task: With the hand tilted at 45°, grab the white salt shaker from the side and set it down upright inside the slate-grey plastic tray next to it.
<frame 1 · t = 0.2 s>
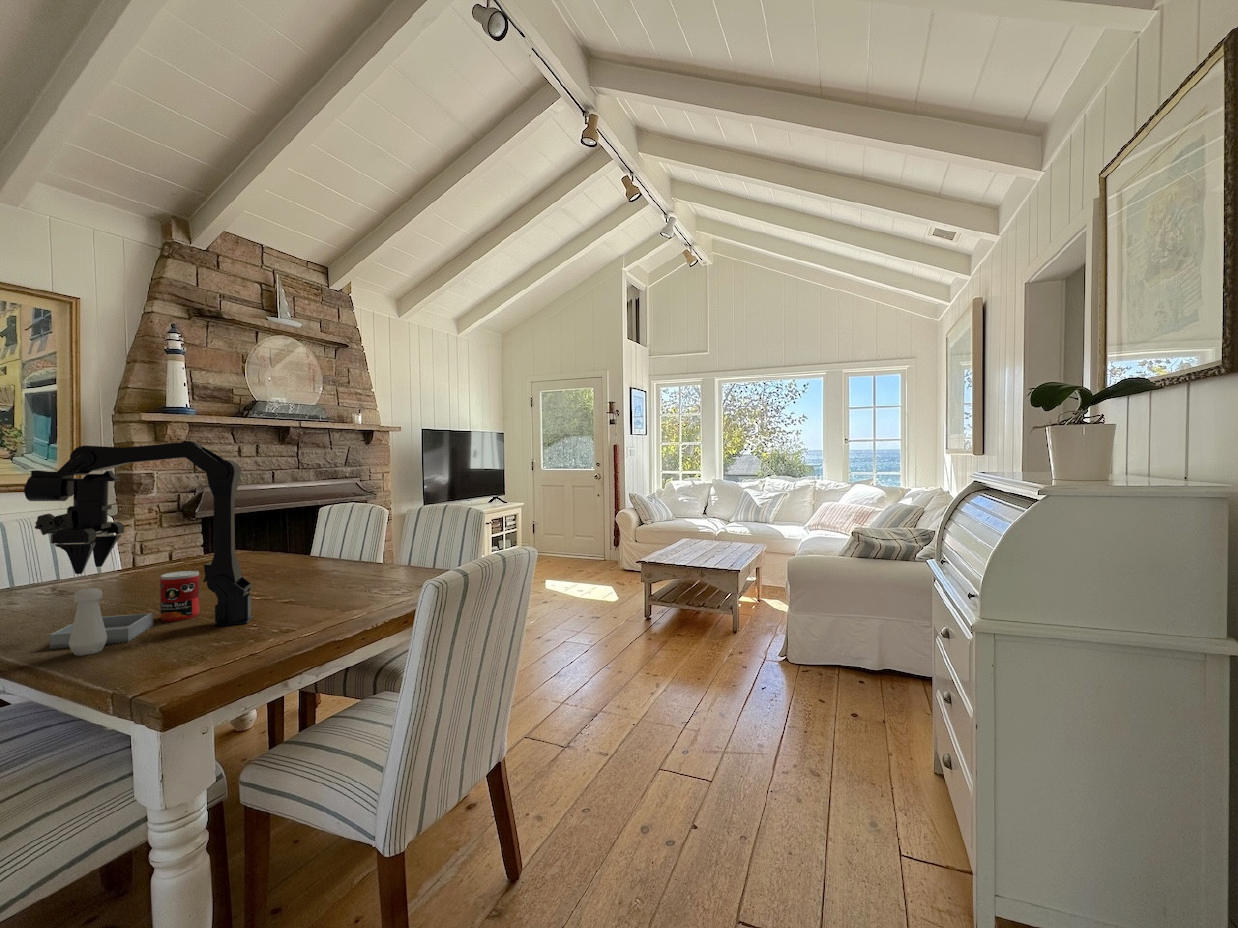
hand: (89, 570, 127), 15 cm above the table, tool pointing down, fingers open, 9 cm apart
tray: (104, 636, 126), on the table
salt shaker: (88, 653, 116), on the table
canned food: (180, 617, 142), on the table
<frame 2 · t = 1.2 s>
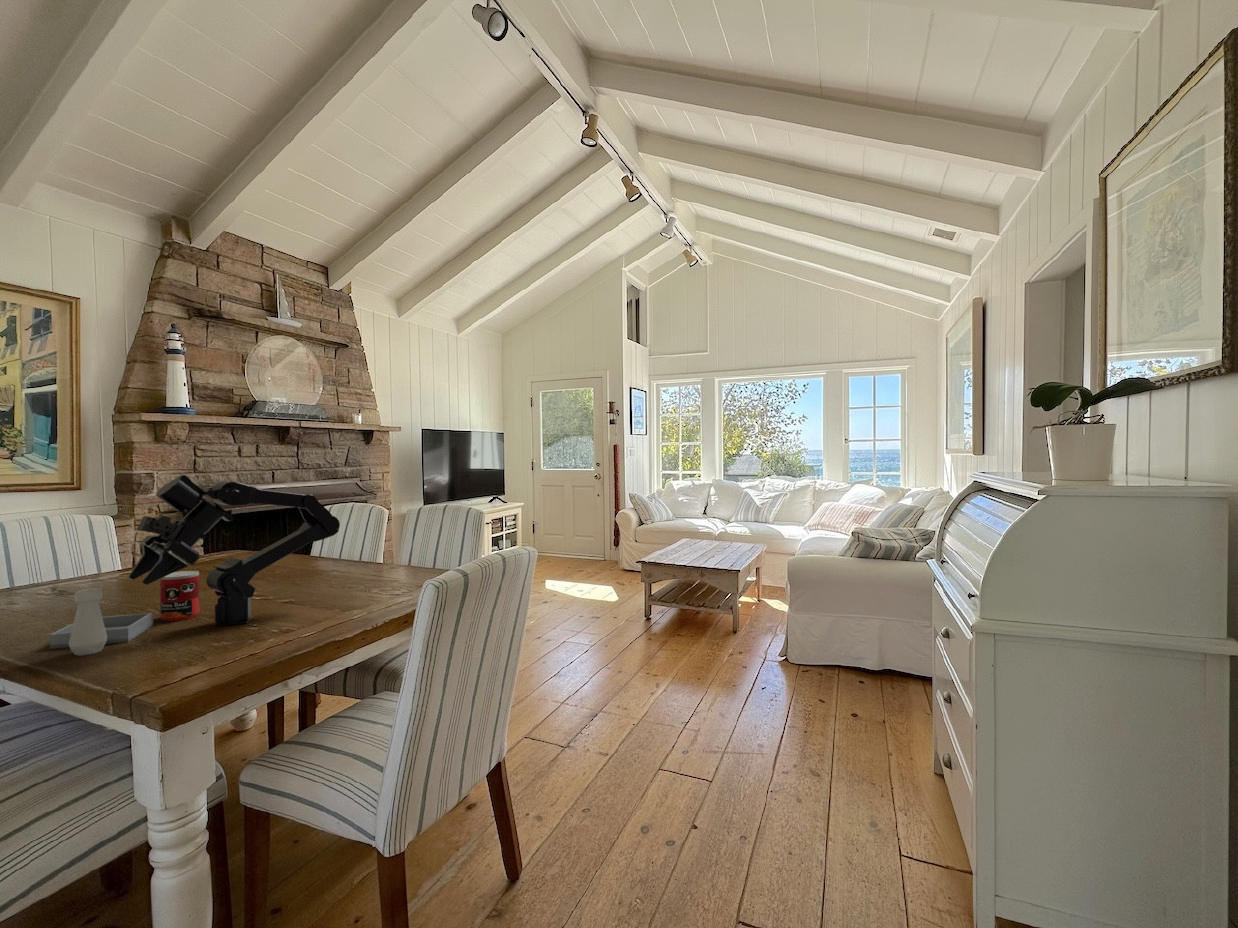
hand: (137, 580, 122), 13 cm above the table, tool tilted 45°, fingers open, 9 cm apart
nothing on the table moved.
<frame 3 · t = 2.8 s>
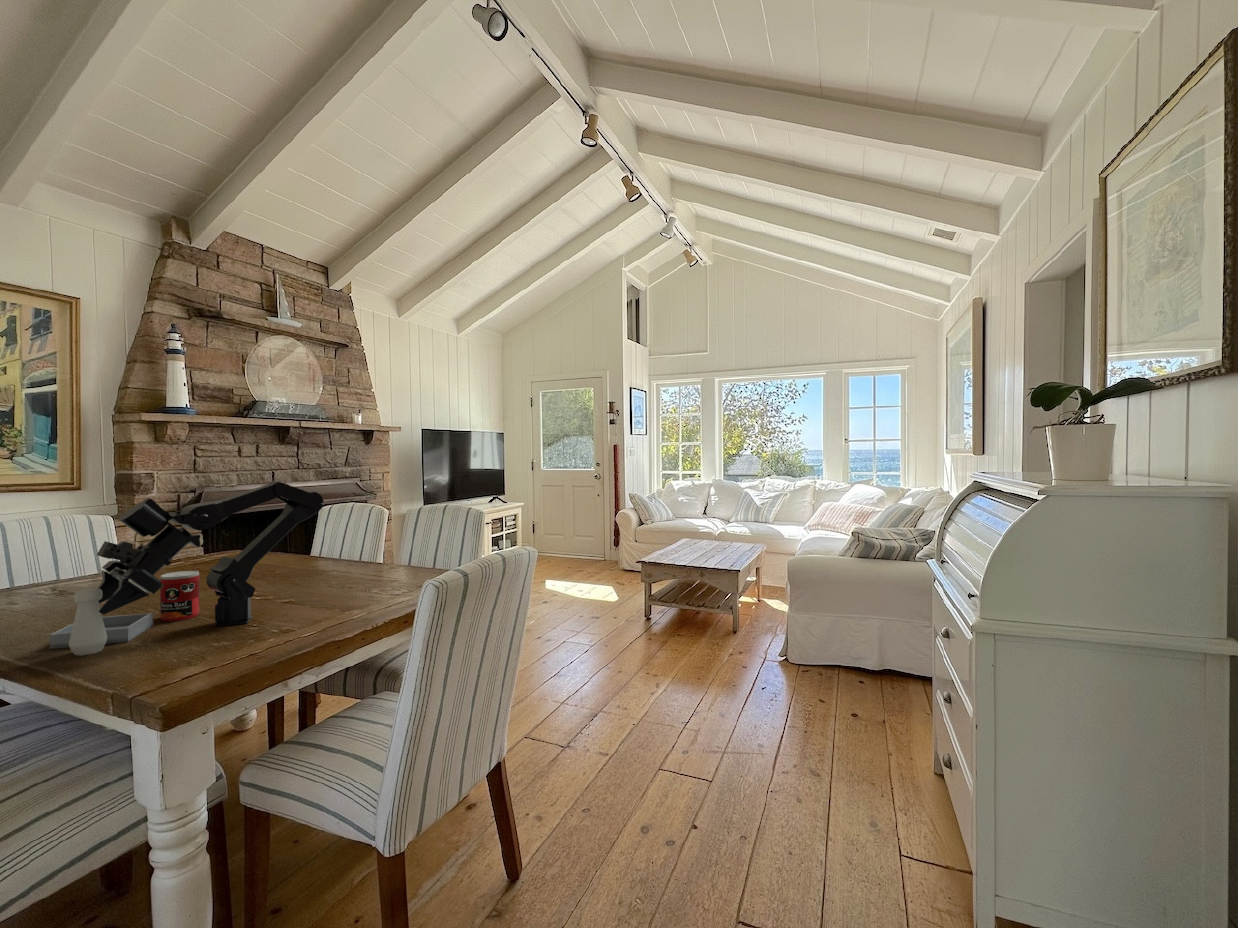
hand: (94, 609, 116), 9 cm above the table, tool tilted 45°, fingers open, 9 cm apart
nothing on the table moved.
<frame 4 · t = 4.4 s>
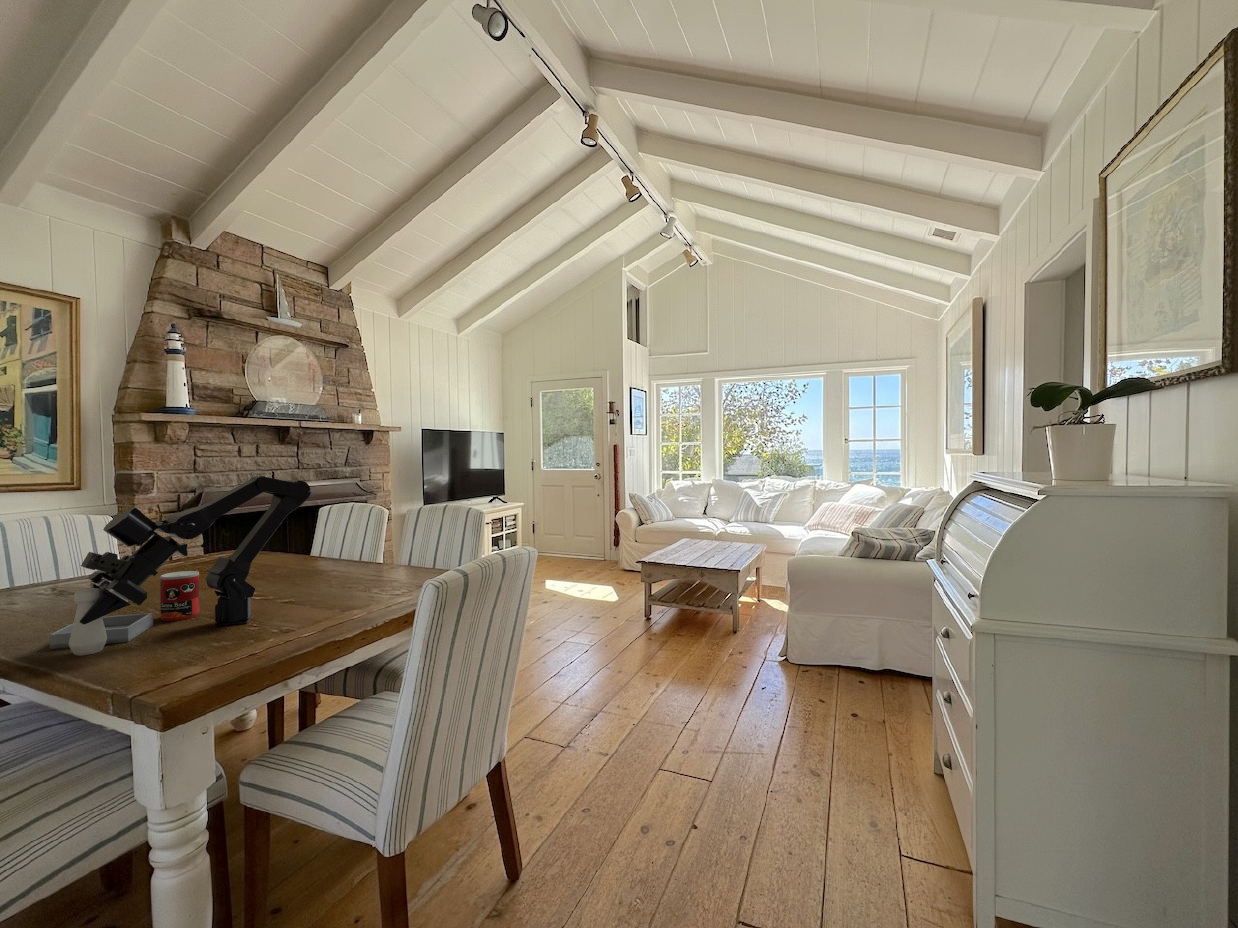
hand: (79, 621, 114), 7 cm above the table, tool tilted 45°, fingers closed on salt shaker, 3 cm apart
salt shaker: (88, 653, 116), on the table, touching gripper
everything else where it was.
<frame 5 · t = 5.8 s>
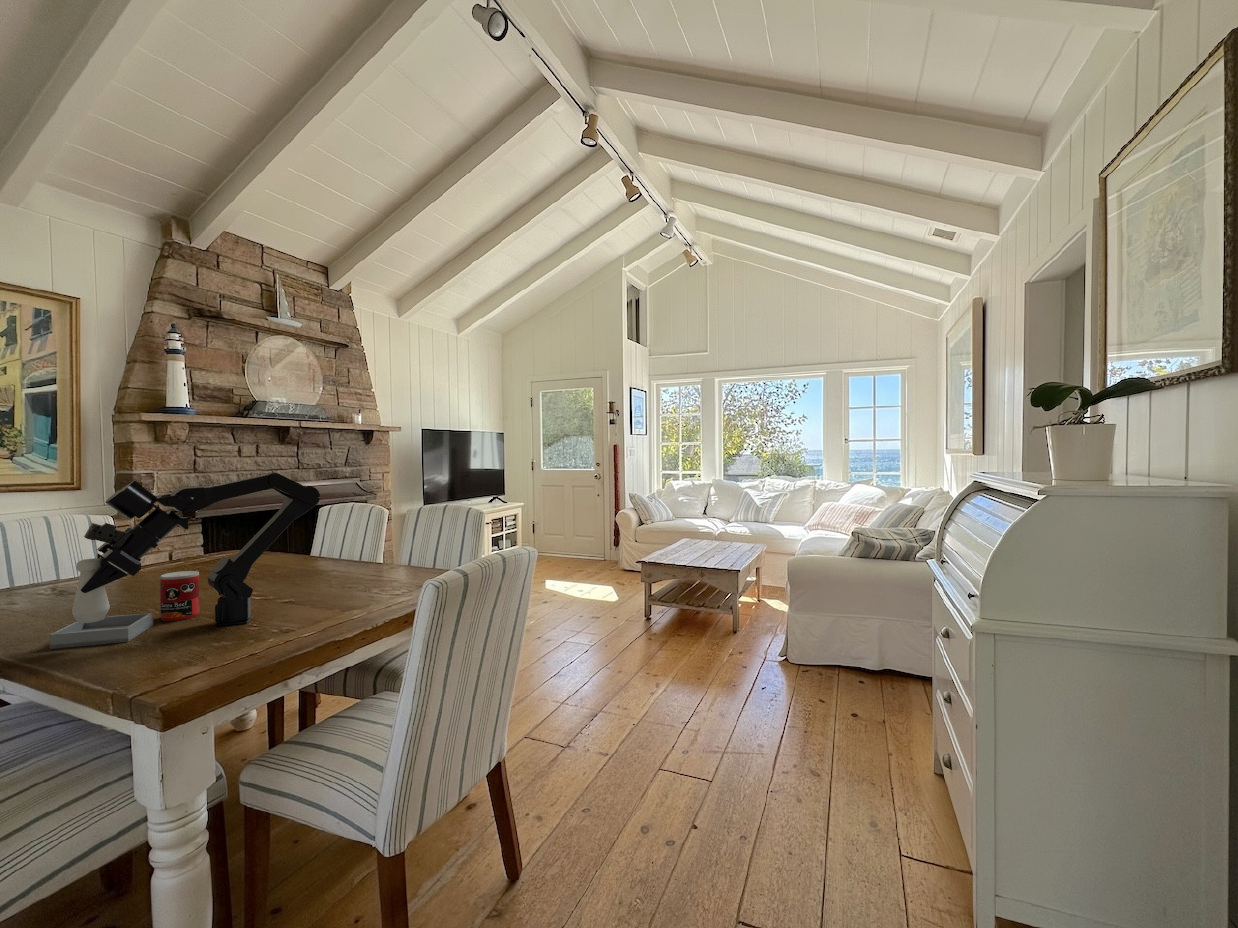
hand: (81, 590, 118), 12 cm above the table, tool tilted 45°, fingers closed on salt shaker, 3 cm apart
salt shaker: (91, 621, 119), point 5 cm above the table, touching gripper
everything else where it was.
when the fingers open (8 cm above the table, at t = 7.7 s): salt shaker stays where it is, resting on tray.
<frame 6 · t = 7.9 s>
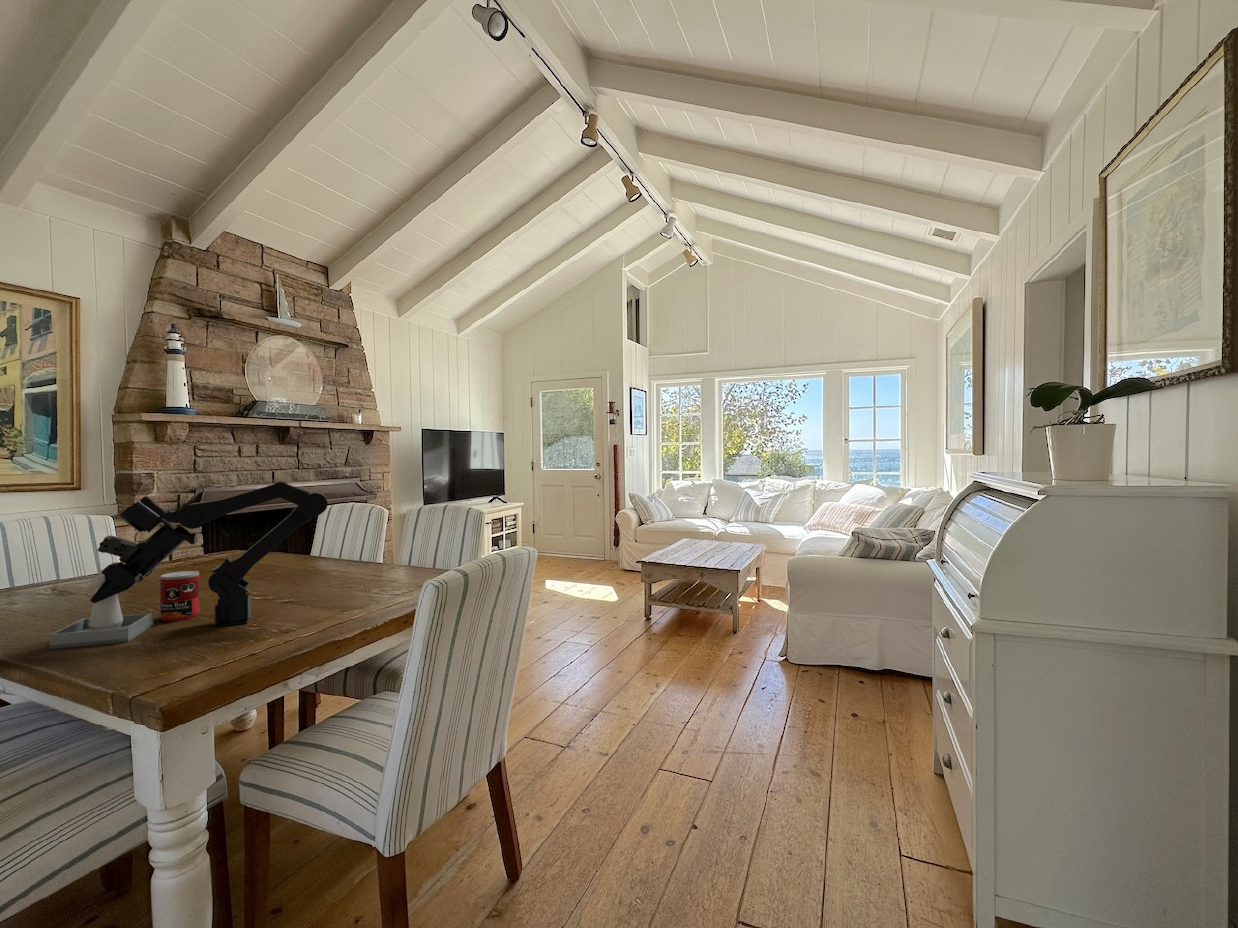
hand: (96, 599, 125), 9 cm above the table, tool tilted 45°, fingers open, 5 cm apart
salt shaker: (106, 633, 126), point 1 cm above the table, touching tray
everything else where it was.
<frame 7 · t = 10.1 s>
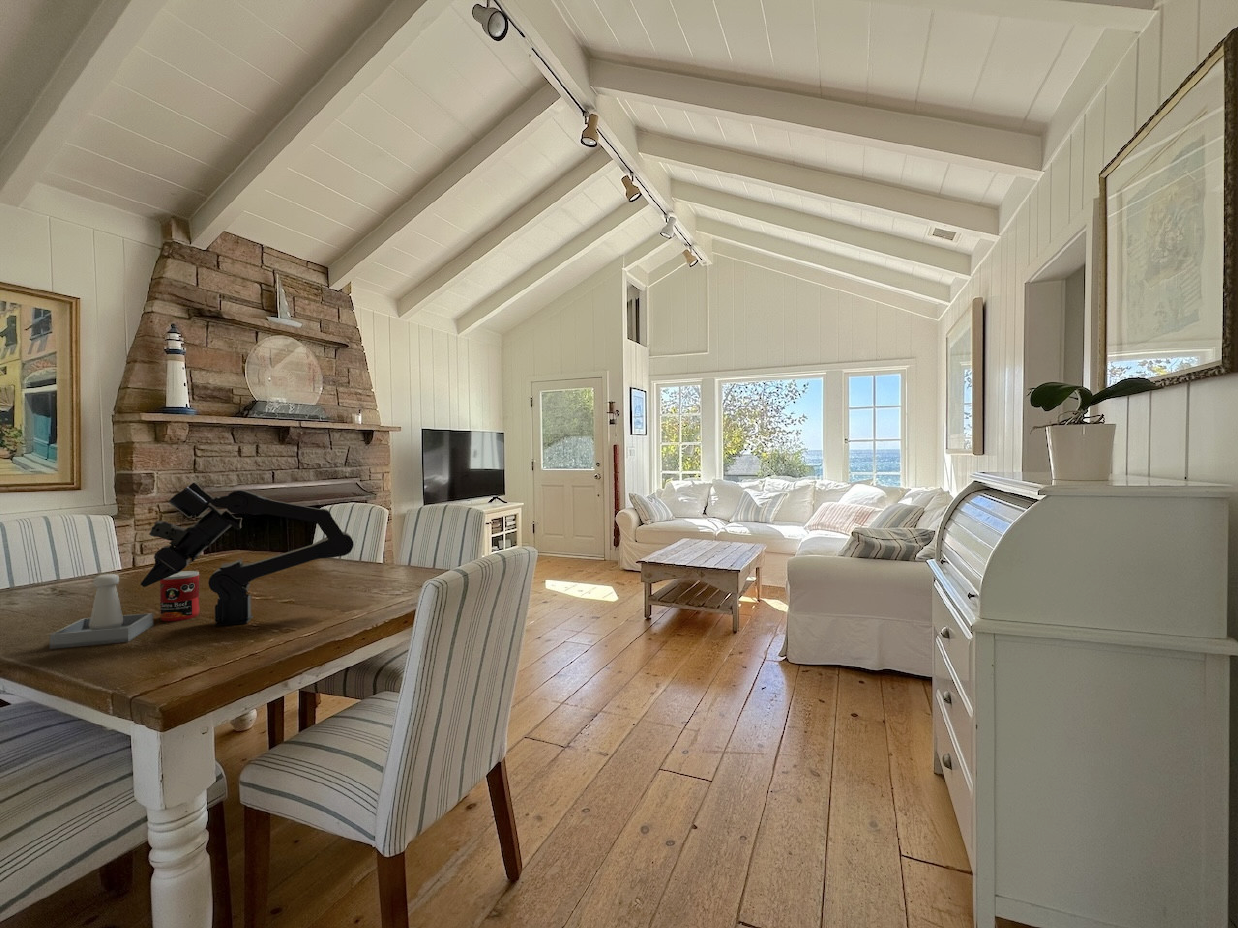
hand: (147, 581, 130), 12 cm above the table, tool tilted 45°, fingers open, 9 cm apart
nothing on the table moved.
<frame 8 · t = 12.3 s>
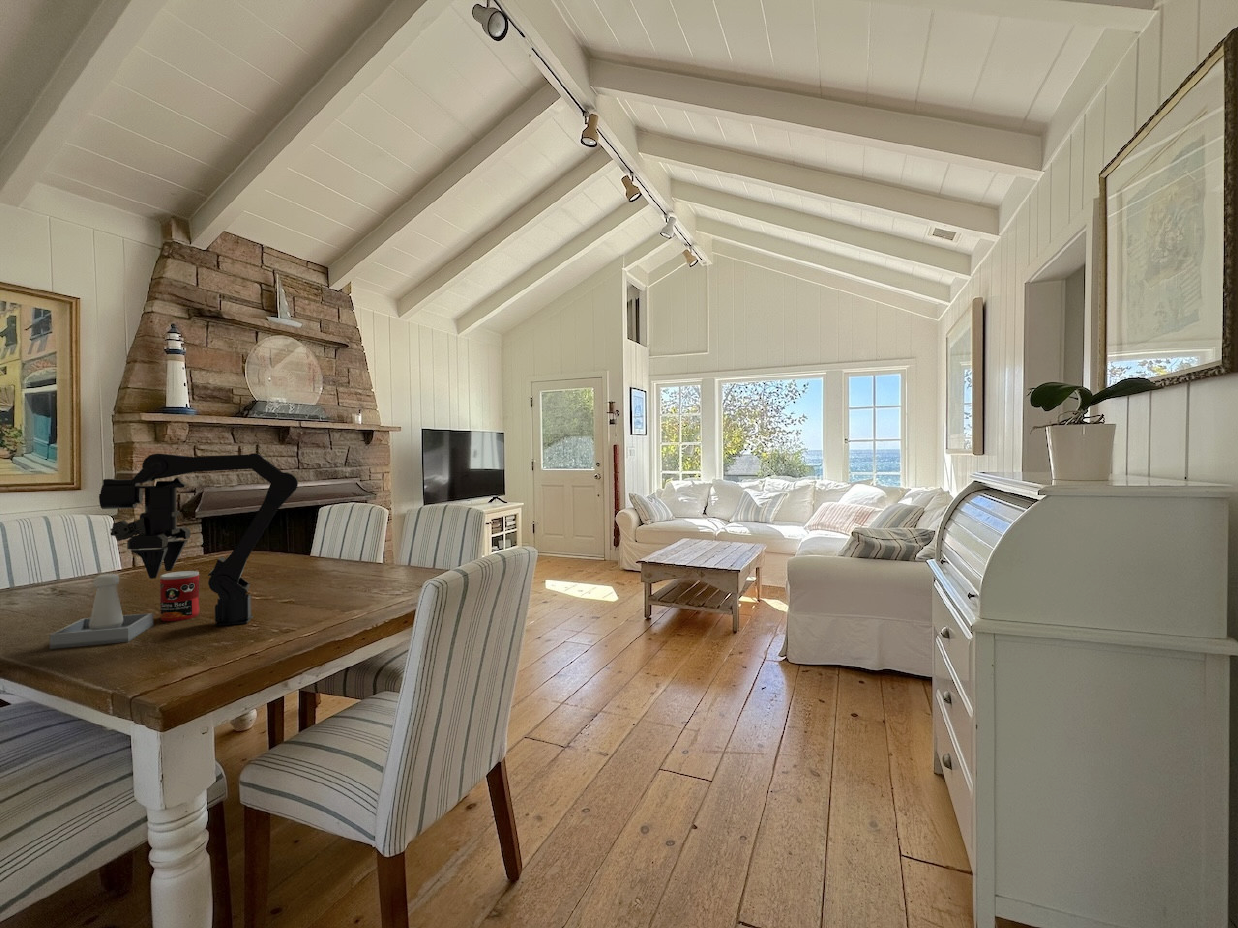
hand: (161, 574, 131), 13 cm above the table, tool pointing down, fingers open, 9 cm apart
nothing on the table moved.
at the end: salt shaker inside the target area on the tray (0.3 cm from its centre), point 0.6 cm above the tray's base; salt shaker tilted 0°; the gripper is holding nothing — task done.
